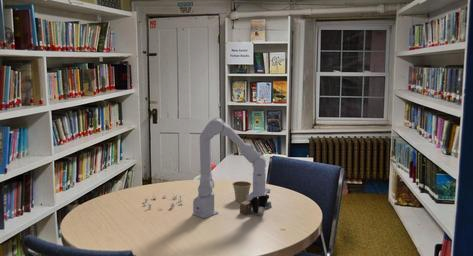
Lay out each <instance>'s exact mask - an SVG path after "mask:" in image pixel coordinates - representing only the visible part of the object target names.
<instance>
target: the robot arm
mask: <svg viewBox="0 0 473 256" xmlns="http://www.w3.org/2000/svg"><path fill="white" fill-rule="evenodd" d="M219 134H220V136H224V137H228V138H229V139H230V140H231V141H232V142H233V143H234V144H235V145H236V146H237V147H238V148H239V152H240V154H241V155H242V156H243V157H244V158H245V159H246V160H247V162H249V163H251V165H252V168H253V170H252V171H253V172H252V191H251V192H249V195H247V200H249V201H250V203H251V205H252V208H253V212H254V213H256V214H258V210H259V206H261V207H264V209H265V205H266V202H267V201H269V198H270V195H269V194H271V188H266V177H267V176H266V167H267V164H266V162H267V161H266V159H265V157H264V155H263V154H262V153H261V152H258V151H257V149H255V146H254V144H250V143H248V142H246V143H245V141H244V140H243V139H242V138H241V137H240V136H239V135H238V133H237V132H236V131H235V130H234V128H232V126H230V125H229V123H227V122H226V121H224V120H223V118H221V117H214V118H213V119H211V120H210V121H209V122H208V123H207V124H206V125H205V127H204V128H203V129H202V132H201V134H200V135H199V156H200V157H199V159H200V160H199V161H200V163H199V164H200V165H199V166H200V175H199V176H200V177H199V185H198V187H197V191H198V195H197V196H196V197H195V198H194V199H193V203H192V206H193V207H192V208H193V209H192V210H193V212H192V213H191V214H192V215H193V216H196V217H199V218H202V219H205V218H209V217H211V216H214V215H216V214H219V211H217V210H215V193H214V190H213V189H214V188H215V181H214V180H213V174H212V157H211V156H212V155H211V154H212V151H211V149H212V146H211V145H212V144H211V140H212V139H213V138H214V137H215V136H217V135H219ZM265 210H266V209H265ZM256 214H255V215H256Z"/></svg>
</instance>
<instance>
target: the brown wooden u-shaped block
mask: <svg viewBox="0 0 473 256" xmlns="http://www.w3.org/2000/svg"><path fill="white" fill-rule="evenodd" d="M250 204H251V203H250V201H249V200H247V201H244V202H239V214H240V215H243V216H248V215H249V212H248V205H250Z"/></svg>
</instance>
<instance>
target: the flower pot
mask: <svg viewBox="0 0 473 256" xmlns="http://www.w3.org/2000/svg"><path fill="white" fill-rule="evenodd" d="M232 186H233V187H232V188H233V191H234V198H235V201H236V202H237V203H241V202H244V201H247V195H249V194H250V189H251V186H252V183H251V182H249V181H243V180H242V181H235V182H233V183H232Z"/></svg>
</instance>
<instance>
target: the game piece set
mask: <svg viewBox="0 0 473 256" xmlns="http://www.w3.org/2000/svg"><path fill="white" fill-rule="evenodd" d="M152 195H153V196H152V199H153V200H156V199H157V196H155V194H152ZM172 195H173V196H172V198H173V200H178V203H179V204H178V206H182V205H183V203H182V202H183V199H182V195H181V194H180V195H179V198H178V195H175V194H174V192H172ZM149 199H150V198H149V197H145V198H144V203H143V207H146V206H147V203H148V209H149V210H151V209H152V203H151V202H149V201H148V200H149ZM162 199H167V194H163V197H162ZM174 206H175V202H171V203H170V206H169V207H170V209H174ZM157 209H158V210H159V211H163V209H162V208H159V207H157Z"/></svg>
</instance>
